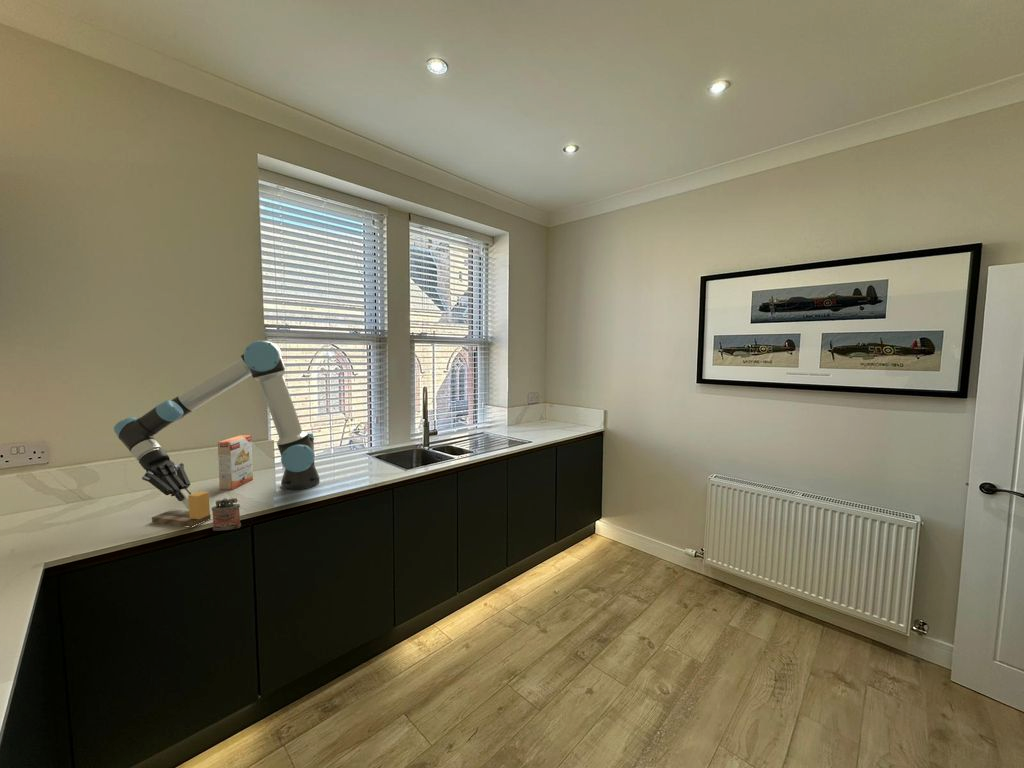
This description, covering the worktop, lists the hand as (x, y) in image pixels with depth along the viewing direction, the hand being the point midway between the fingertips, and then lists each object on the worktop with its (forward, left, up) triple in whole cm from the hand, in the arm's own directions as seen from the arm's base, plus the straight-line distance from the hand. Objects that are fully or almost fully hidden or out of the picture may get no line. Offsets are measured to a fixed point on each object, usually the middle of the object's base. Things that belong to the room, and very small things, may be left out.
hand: (191, 505), depth 141 cm
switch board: (+4, -3, -6) cm, 8 cm away
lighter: (-11, +10, -6) cm, 17 cm away
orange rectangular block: (-3, +2, -4) cm, 5 cm away
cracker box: (-8, -40, -6) cm, 41 cm away
